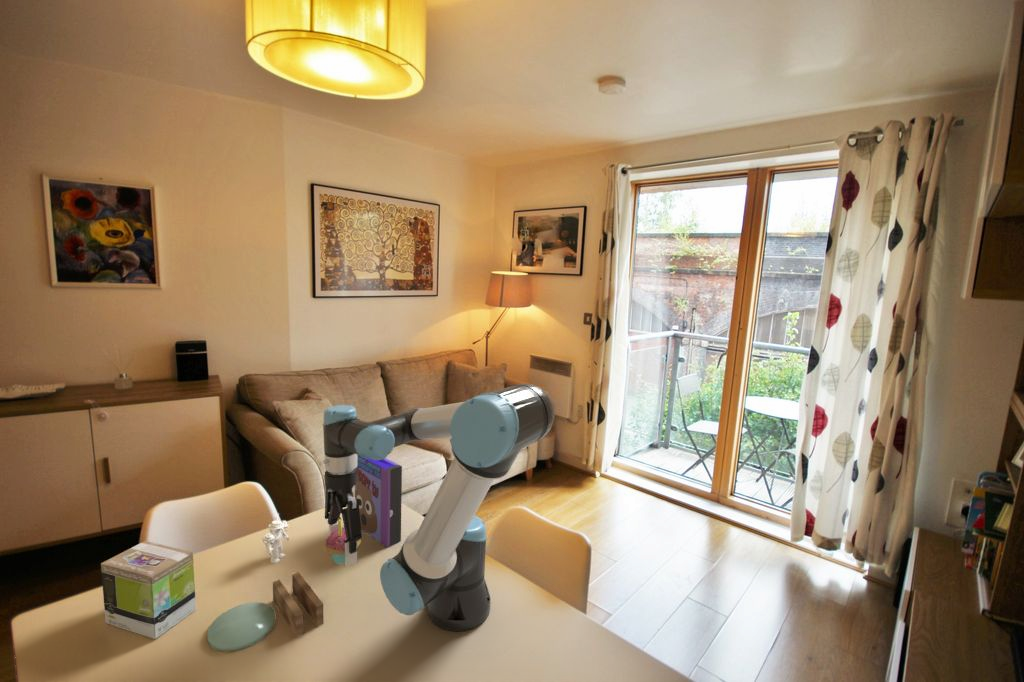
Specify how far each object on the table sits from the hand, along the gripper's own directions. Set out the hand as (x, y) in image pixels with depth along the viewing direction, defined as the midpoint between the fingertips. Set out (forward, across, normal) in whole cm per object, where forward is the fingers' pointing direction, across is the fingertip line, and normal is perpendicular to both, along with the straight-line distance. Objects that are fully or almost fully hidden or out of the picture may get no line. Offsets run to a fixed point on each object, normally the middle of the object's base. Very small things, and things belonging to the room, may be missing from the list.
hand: (343, 555), depth 115 cm
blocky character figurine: (+9, -24, -8) cm, 27 cm away
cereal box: (+9, -18, +19) cm, 28 cm away
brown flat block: (+9, 0, -9) cm, 13 cm away
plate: (+9, -3, -22) cm, 24 cm away
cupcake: (+1, 0, 0) cm, 1 cm away
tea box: (+9, -20, -36) cm, 42 cm away
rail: (+9, 0, -14) cm, 16 cm away
